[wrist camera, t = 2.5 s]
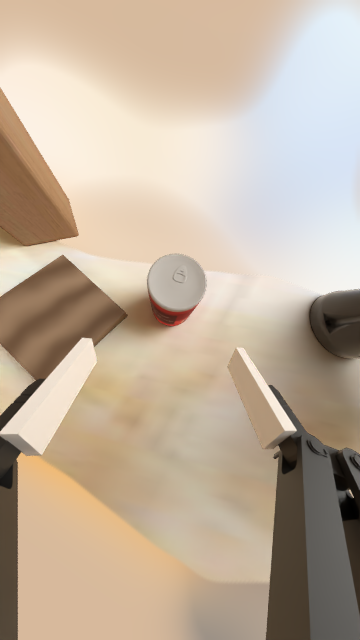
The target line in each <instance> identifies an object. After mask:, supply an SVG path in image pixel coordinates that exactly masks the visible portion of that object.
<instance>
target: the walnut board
mask: <svg viewBox="0 0 360 640" xmlns="http://www.w3.org/2000/svg"><path fill="white" fill-rule="evenodd" d="M127 316H128V315H127V314H126V313H125V312H124V311H123V310H122V309H121V308H120V307H119V306H118V305H117V304H116V303H115V302H114V301H112V300H111V299H110V298H109V297H108V296H107V295H106V294H105V293H104V292H103V291H102V290H101V289H99V288H98V287H97V286H96V285H95V284H94V283H93V282H92V281H91V280H90V279H89V278H88V277H86V276H85V275H84V274H83V273H82V272H81V271H80V270H79V269H78V268H77V267H76V266H75V265H73V264H72V263H71V262H70V261H69V260H68V259H67V258H66V257H65V256H64V255H62V256H60V257H59V258H57V259H56V260H54V261H53V262H51V263H50V264H48V265H47V266H45V267H44V268H42V269H41V270H39V271H38V272H36V273H35V274H34V275H32V276H31V277H29V278H28V279H26V280H25V281H23V282H22V283H20V284H19V285H17V286H16V287H14V288H13V289H11V290H10V291H8V292H7V293H5V294H4V295H2V296H1V297H0V344H1V345H2V346H3V347H4V348H5V349H6V350H7V351H8V352H9V353H10V354H11V355H12V356H13V357H14V358H15V359H16V360H17V361H18V362H19V363H20V364H21V365H22V366H23V367H24V368H25V369H26V370H27V371H28V372H29V373H30V374H31V375H32V376H33V377H34V378H35V379H36V380H38V379H47V377H48V376H49V375H50V374H51V373H52V372H53V371H54V369H55V368H56V367H57V366H58V365H59V364H60V363H61V361H62V360H63V359H64V358H65V357H66V356H67V355H68V353H69V352H70V351H71V350H72V349H73V348H74V347H75V345H76V344H77V343H78V342H79V341H80V340H81V339H82V338H92V342H93V345H94V346H95V345H97V344H98V343H99V342H100V341H101V340H102V339H103V338H104V337H105V336H106V335H107V334H108V333H109V332H111V331H112V330H113V329H114V328H115V327H116V326H117V325H118V324H119V323H120V322H121V321H122V320H123V319H125V318H126V317H127Z"/></svg>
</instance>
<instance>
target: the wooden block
mask: <svg viewBox="0 0 360 640" xmlns="http://www.w3.org/2000/svg"><path fill="white" fill-rule="evenodd" d="M0 227H2V228H3V229H4V230H5V231H7V232H8V233H9V234H11V235H12V236H13V237H14V238H16V239H17V240H18V241H20V242H21V243H22V244H23V245H26V246H28V245H34V244H39V243H44V242H50V241H55V240H60V239H65V238H71V237H76V236H78V231H77V227H76V223H75V220H74V216H73V213H72V209H71V206H70V202H69V199H68V198H67V196H66V194H65V193H64V191H63V190H62V188H61V186H60V185H59V183H58V181H57V180H56V178H55V176H54V175H53V173H52V171H51V170H50V168H49V167H48V165H47V163H46V162H45V160H44V158H43V157H42V155H41V154H40V152H39V150H38V149H37V147H36V145H35V144H34V142H33V140H32V139H31V137H30V136H29V134H28V132H27V131H26V129H25V127H24V126H23V124H22V122H21V121H20V119H19V117H18V116H17V114H16V112H15V111H14V109H13V108H12V106H11V104H10V103H9V101H8V99H7V98H6V96H5V95H4V93H3V91H2V90H1V88H0Z"/></svg>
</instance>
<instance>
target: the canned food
mask: <svg viewBox="0 0 360 640" xmlns="http://www.w3.org/2000/svg"><path fill="white" fill-rule="evenodd" d="M147 286H148V293H149V297H150V301H151V306H152V310H153V313H154V315H155V317H156V319H157V320H158V321H159V322H161V323H162V324H165V325H168V326H175V325H179V324H181V323H183V322H184V321H185V320H186V319H187V318H188V317H189V315H190V314H191V313H192V311H193V310H194V309H195V308H196V306H197V305H198V304H199V302H200V301H201V299H202V298H203V296H204V293H205V291H206V286H207V280H206V275H205V273H204V270H203V269H202V267H201V266H200V265H199V263H198V262H197V261H195V260H194V259H193V258H191V257H189V256H186V255H183V254H169V255H166V256H163V257H161V258H160V259H158V260H157V261H156V262H155V263H154V264H153V265H152V267H151V268H150V270H149V273H148V279H147Z"/></svg>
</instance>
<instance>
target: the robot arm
mask: <svg viewBox="0 0 360 640" xmlns="http://www.w3.org/2000/svg"><path fill="white" fill-rule="evenodd" d="M310 321H311V326H312V329H313V331H314V334H315V335H316V337H317V339H318V340H319V342H320V343H321V344H322V345H323V346H324V347H325V348H326V349H327V350H328V351H330V352H331V353H333V354H334V355H336V356H339V357H342V358H358V359H360V289H354V290H346V291H336V292H332V293H329V294H326V295H323V296H321V297H319V298H318V299H316V300H315V302H314V303H313V305H312V308H311V312H310ZM96 362H97V357H96V353H95V349H94V345H93V342H92V338H82V339H81V340H80V341H79V342H78V343H77V344H76V345H75V347H74V348H73V349H72V350H71V351H70V352H69V353H68V355H67V356H66V357H65V358H64V359H63V360H62V361H61V363H60V364H59V365H58V366H57V367H56V368H55V369H54V371H53V372H52V373H51V374H50V375H49V376H48V377H47V379H38V380H36V381H35V382H33V383H32V384H31V385H29V386H28V387H27V388H26V389H25V390H24V391H23V392H22V393H21V395H20V396H19V397H18V398H17V399H16V400H15V401H14V403H13V404H11V405H10V406H9V407H8V408H7V409H6V410H5V411H4V412H3V413H2V415H1V416H0V640H18V626H17V625H18V593H17V592H18V589H17V588H18V584H17V583H18V570H17V569H18V565H17V564H18V562H17V561H18V558H17V557H18V555H17V554H18V550H17V549H18V547H17V546H18V540H17V539H18V521H17V520H18V518H17V517H18V516H17V515H18V508H17V507H18V504H17V503H18V499H17V498H18V494H17V493H18V491H17V489H18V488H17V487H18V486H17V485H18V476H17V475H18V470H17V468H18V465H17V464H18V462H17V460H16V459H17V457H18V456H19V454H20V453H21V452H22V453H23V454H25V455H27V456H31V455H32V456H33V455H42V454H43V452H44V451H45V449H46V447H47V446H48V444H49V442H50V441H51V439H52V437H53V435H54V434H55V432H56V430H57V429H58V427H59V425H60V424H61V422H62V420H63V418H64V417H65V415H66V413H67V412H68V410H69V408H70V407H71V405H72V403H73V401H74V400H75V398H76V396H77V395H78V393H79V391H80V390H81V388H82V386H83V385H84V383H85V381H86V379H87V378H88V376H89V374H90V373H91V371H92V369H93V368H94V366H95V364H96ZM228 369H229V372H230V374H231V376H232V379H233V381H234V383H235V386H236V388H237V390H238V393H239V395H240V397H241V400H242V402H243V404H244V406H245V409H246V411H247V413H248V416H249V418H250V420H251V423H252V425H253V427H254V430H255V432H256V434H257V437H258V439H259V441H260V444H261V446H262V448H263V449H274V448H275V447H276V446H279V448H280V451H279V452H277V453H276V454H274V457H273V458H274V459H276V458H278V457H279V460H278V474H277V489H276V503H275V517H274V532H273V546H272V560H271V575H270V590H269V603H268V618H267V632H266V640H360V454H359V453H357V452H355V451H354V450H352V449H349V448H344V449H342V450H340V451H339V450H336V449H334V448H331V447H328V446H326V445H323V444H322V443H321V442H320V441H319V440H318V439H317V438H315V437H314V436H312V435H310V434H308V433H307V432H306V430H305V429H304V428H303V426H302V425H301V423H300V422H299V420H298V419H297V418H296V416H295V415H294V413H293V412H292V410H291V409H290V407H289V406H288V405H287V403H286V402H285V400H283V397H282V396H281V394H280V393H279V392H278V391H277V390H276V389H275V388H274V387H273V386H272V385H267V383H266V382H265V380H264V379H263V377H262V376H261V374H260V373H259V371H258V369H257V368H256V366H255V365H254V363H253V362H252V360H251V359H250V357H249V356H248V354H247V353H246V351H245V349H244V348H236V349H235V351H234V354H233V356H232V358H231V360H230V362H229V364H228ZM350 489H351V492H352V494H353V496H354V498H353V497H352V496H351V494H350V493H349V490H350Z"/></svg>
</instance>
